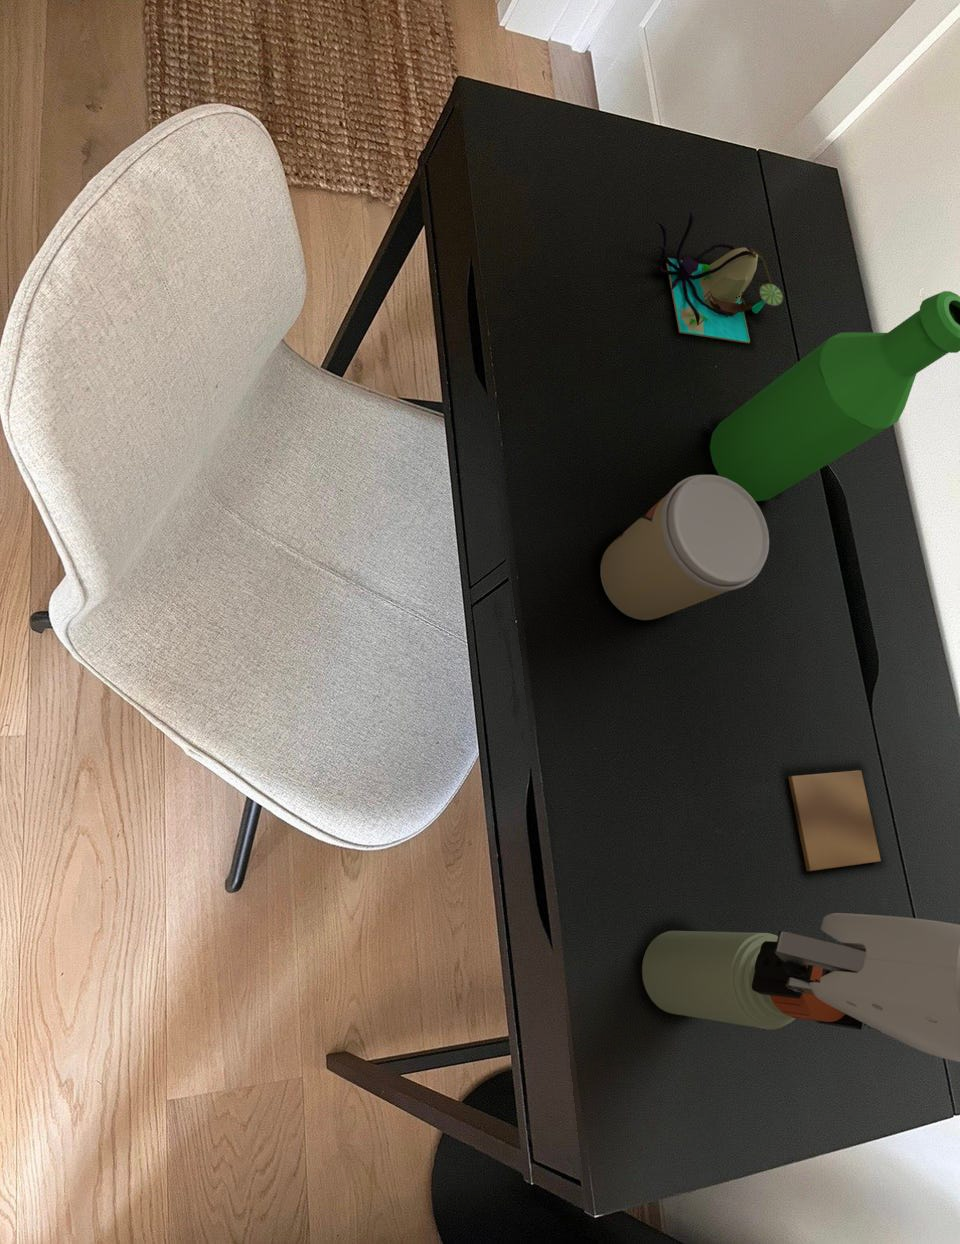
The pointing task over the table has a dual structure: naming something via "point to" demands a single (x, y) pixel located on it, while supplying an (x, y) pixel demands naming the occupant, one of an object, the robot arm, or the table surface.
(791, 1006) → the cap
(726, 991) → the sauce bottle
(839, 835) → the coaster
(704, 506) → the coffee cup
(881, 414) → the bottle
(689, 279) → the diorama
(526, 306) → the table surface
